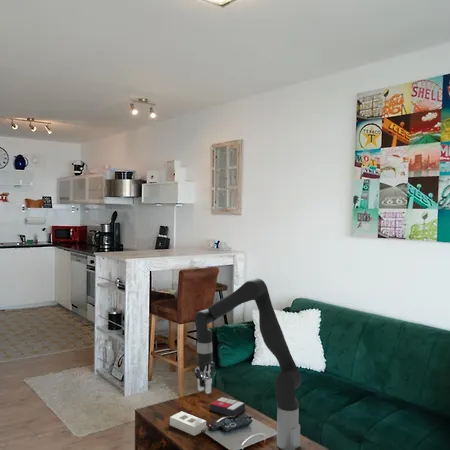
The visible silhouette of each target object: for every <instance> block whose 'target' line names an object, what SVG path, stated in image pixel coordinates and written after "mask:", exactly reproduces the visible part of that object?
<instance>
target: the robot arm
mask: <svg viewBox="0 0 450 450" xmlns="http://www.w3.org/2000/svg"><path fill="white" fill-rule="evenodd" d="M251 301H254V302H255V304H256V306H257V310H258V322H259V323H258V326H259V331H260V334H261V337H262V340H263V343H264V345H265V346H266V348H267V349H268V350H269V351H270V352H271V354H272V355H273V356H274V357H275V358H276V359H275V360H276V361H277V362H278V365H279V367H280V371H281V372H280V373H278V374H277V375H276V378H275V381H274V382H275V383H274V384H275V385H274V387H275V388H274V389H275V401H276V407H277V408H276V409H277V412H276V414H277V415H276V446H277V447H278V448H279V449H281V450H297V449H298V448H299V447H300V446H301V423H300V424H299V410H300V409H299V408H300V407H299V404H300V403H299V400H298V398H296V390H297V389H298V388H300V386H301V385H302V375H301V372H300V370H299V369H298V367H297V364H296V363H295V360H294V359H293V357H292V354H291V352H290V348H289V347H288V344H287V341H286V338H285V335H284V333H283V330H282V327H281V325H280V323H279V320H278V318H277V314H276V312H275V309H274V307H273V303H272V301H271V296H270V293H269V289H268V287H267V284H266V282H265V281H264V280H263V279H261V278H253V279H249V280H246V281H245V282H244V283H243V284H241V286H239V287H238V288H237V289H236V290H235V291H233V292H232V293H231V294H229V295H227V296H225V297H223V298H221V299H219V300H217V301H216V302H215V303H212V305H210V306H209V307H207V308H205V309H203V310H200V311H199V310H198V311H197V312H196V314H195V316H194V324H195V329H196V332H197V333H196V334H197V335H196V336H197V340H196V341H197V343H196V361H197V363H198V364H197V366H196V367H194V368H193V372H194V375H195V378H196V380H197V379H199V380H200V387H204V388H205V384H204V376H207V377H210V378H211V376H213V374H214V370H215V365H216V362H214V361H213V341H212V340H213V332H212V330H211V329H209V328H208V325H209V324H211V323H214V322H215V321H216V320H217V319H219V318H221V317H223V316H224V315H227V314H229V313H230V312H231V311H233V310H234V309H235V308H237V307H239V305H242V304H244V303H247V302H251ZM201 375H202V377H201Z"/></svg>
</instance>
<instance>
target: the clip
mask: <svg viewBox="0 0 450 450" xmlns="http://www.w3.org/2000/svg"><path fill="white" fill-rule="evenodd" d="M201 377H202V375H201ZM196 382H197V391H199V392H202V391H204V388H205V394H207V395H208V394H211V393H212V384H213V378H212V377H211V376H210V377H207V376H205V375H204V387H200V380H199V379H197V378H196Z"/></svg>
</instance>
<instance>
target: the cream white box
mask: <svg viewBox="0 0 450 450" xmlns="http://www.w3.org/2000/svg"><path fill="white" fill-rule="evenodd" d="M169 425H170V427H173V428H176V429H178V430H180V431H182V432H185V433H188V434H189V435H191V436H196V435H199V434H200V433H202V432H201V430H202V429H203V428H205V427H206V428H207V420H205V419H202V418H200V417H197V416H194V415H192V414H189V413H187V412H185V411H179V412H177V413H175V414H172V415H171V416H169Z"/></svg>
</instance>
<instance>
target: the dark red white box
mask: <svg viewBox="0 0 450 450" xmlns="http://www.w3.org/2000/svg"><path fill="white" fill-rule="evenodd" d="M209 410H210V411H212V412H215V413H217V414H218V413H219V414H221V415H226V416H227V415H229V416H228V417H230V416H235V415H237V416H238V415H240V414H242V413H243V412H245V411H246V404H245V403H244V402H241V401H238V400H234V399H231V398H226V397H222V396H221V397H220V398H218V399H216V400H215V401H213V402H211V403H210V404H209ZM235 417H236V416H235Z"/></svg>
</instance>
